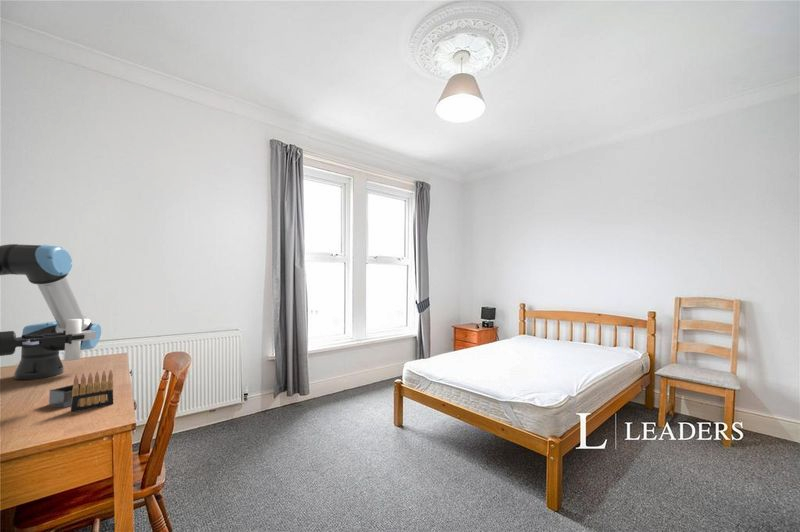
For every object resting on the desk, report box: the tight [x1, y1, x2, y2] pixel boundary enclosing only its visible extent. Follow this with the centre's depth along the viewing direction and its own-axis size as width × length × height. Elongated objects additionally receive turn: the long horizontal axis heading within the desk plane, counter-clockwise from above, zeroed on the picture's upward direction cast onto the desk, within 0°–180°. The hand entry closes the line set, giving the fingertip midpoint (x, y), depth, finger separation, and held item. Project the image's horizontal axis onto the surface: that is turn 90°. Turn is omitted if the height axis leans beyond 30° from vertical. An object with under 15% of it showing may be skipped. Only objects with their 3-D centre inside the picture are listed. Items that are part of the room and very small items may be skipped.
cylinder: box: [63, 319, 82, 362], centre depth 120 cm, size 4×4×14 cm
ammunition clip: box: [70, 369, 114, 413], centre depth 116 cm, size 11×2×12 cm, turn 135°
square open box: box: [48, 383, 87, 409], centre depth 120 cm, size 8×8×5 cm
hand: (93, 334), depth 125 cm, fingers closed on cylinder, 4 cm apart
